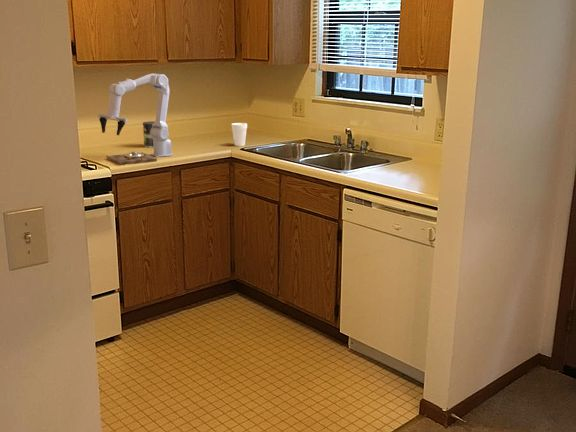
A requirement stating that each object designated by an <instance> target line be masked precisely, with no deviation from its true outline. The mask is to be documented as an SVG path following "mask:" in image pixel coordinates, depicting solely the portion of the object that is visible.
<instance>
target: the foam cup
mask: <svg viewBox="0 0 576 432" xmlns="http://www.w3.org/2000/svg"><path fill="white" fill-rule="evenodd" d="M247 130H248V123H246V122H234V123H231V131H232V138H233V144H234V146H235V147H244V146H245V145H246V139H247V138H246V137H247Z"/></svg>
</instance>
